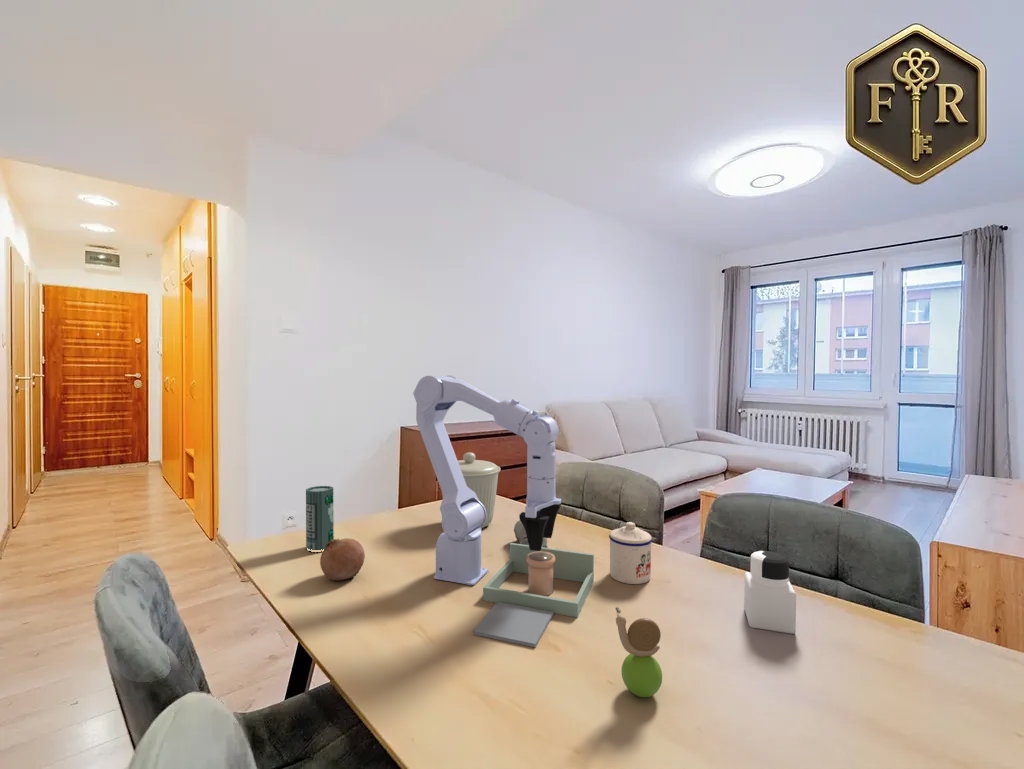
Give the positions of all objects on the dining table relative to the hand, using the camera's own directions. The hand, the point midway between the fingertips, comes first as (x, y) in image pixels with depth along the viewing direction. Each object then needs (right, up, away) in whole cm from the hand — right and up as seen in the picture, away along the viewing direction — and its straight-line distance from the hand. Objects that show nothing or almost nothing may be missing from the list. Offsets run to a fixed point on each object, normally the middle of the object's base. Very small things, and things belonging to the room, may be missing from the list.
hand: (541, 543), depth 97 cm
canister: (-18, -9, +42) cm, 47 cm away
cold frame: (0, -10, 0) cm, 10 cm away
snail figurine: (+12, -11, -31) cm, 34 cm away
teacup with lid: (+21, -10, +9) cm, 24 cm away
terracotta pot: (0, -10, 0) cm, 10 cm away
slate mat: (-5, -10, -13) cm, 17 cm away
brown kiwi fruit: (-42, -10, +6) cm, 44 cm away
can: (-54, -9, +23) cm, 59 cm away
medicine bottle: (+40, -10, -11) cm, 43 cm away
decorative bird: (-1, -10, +22) cm, 24 cm away
